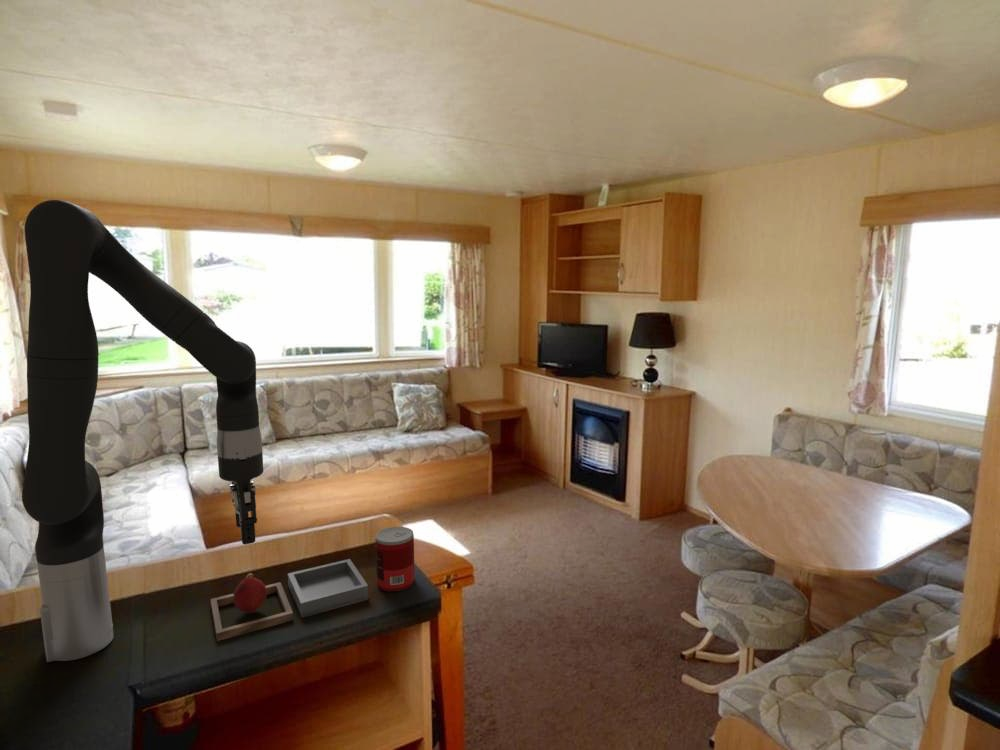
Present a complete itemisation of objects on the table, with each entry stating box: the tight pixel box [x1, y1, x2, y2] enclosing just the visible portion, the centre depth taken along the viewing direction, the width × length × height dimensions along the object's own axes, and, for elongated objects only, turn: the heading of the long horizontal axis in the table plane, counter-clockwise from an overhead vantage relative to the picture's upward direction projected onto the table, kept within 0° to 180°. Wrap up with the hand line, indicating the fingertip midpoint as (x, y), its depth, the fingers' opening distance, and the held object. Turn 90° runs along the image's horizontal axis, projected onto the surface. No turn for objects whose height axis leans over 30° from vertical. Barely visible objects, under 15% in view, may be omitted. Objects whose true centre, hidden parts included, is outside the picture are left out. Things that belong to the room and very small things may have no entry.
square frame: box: [210, 581, 294, 642], centre depth 112 cm, size 13×13×2 cm
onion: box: [233, 572, 268, 614], centre depth 111 cm, size 6×6×8 cm
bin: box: [287, 558, 370, 618], centre depth 119 cm, size 13×13×3 cm
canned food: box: [374, 526, 415, 592], centre depth 123 cm, size 8×8×11 cm
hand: (245, 534), depth 110 cm, fingers open, 8 cm apart
